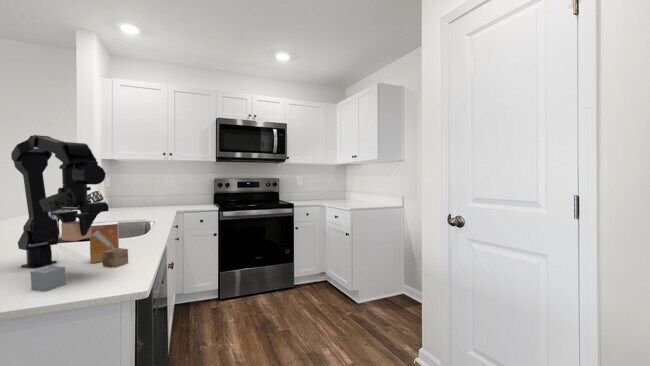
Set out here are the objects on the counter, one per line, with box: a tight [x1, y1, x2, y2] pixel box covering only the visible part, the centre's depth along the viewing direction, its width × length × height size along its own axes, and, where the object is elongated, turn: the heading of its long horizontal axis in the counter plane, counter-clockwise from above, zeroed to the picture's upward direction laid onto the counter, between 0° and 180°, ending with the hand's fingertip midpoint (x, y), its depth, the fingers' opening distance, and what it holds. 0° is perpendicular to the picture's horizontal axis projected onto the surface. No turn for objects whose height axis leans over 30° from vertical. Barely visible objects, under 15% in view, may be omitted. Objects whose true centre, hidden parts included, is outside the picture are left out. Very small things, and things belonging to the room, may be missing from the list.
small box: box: [89, 221, 120, 264], centre depth 108 cm, size 8×6×13 cm
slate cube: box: [30, 265, 67, 293], centre depth 82 cm, size 5×5×5 cm
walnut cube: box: [102, 247, 129, 269], centre depth 102 cm, size 5×5×5 cm
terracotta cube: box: [60, 220, 92, 242], centre depth 92 cm, size 5×5×5 cm
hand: (76, 235), depth 92 cm, fingers closed on terracotta cube, 5 cm apart
